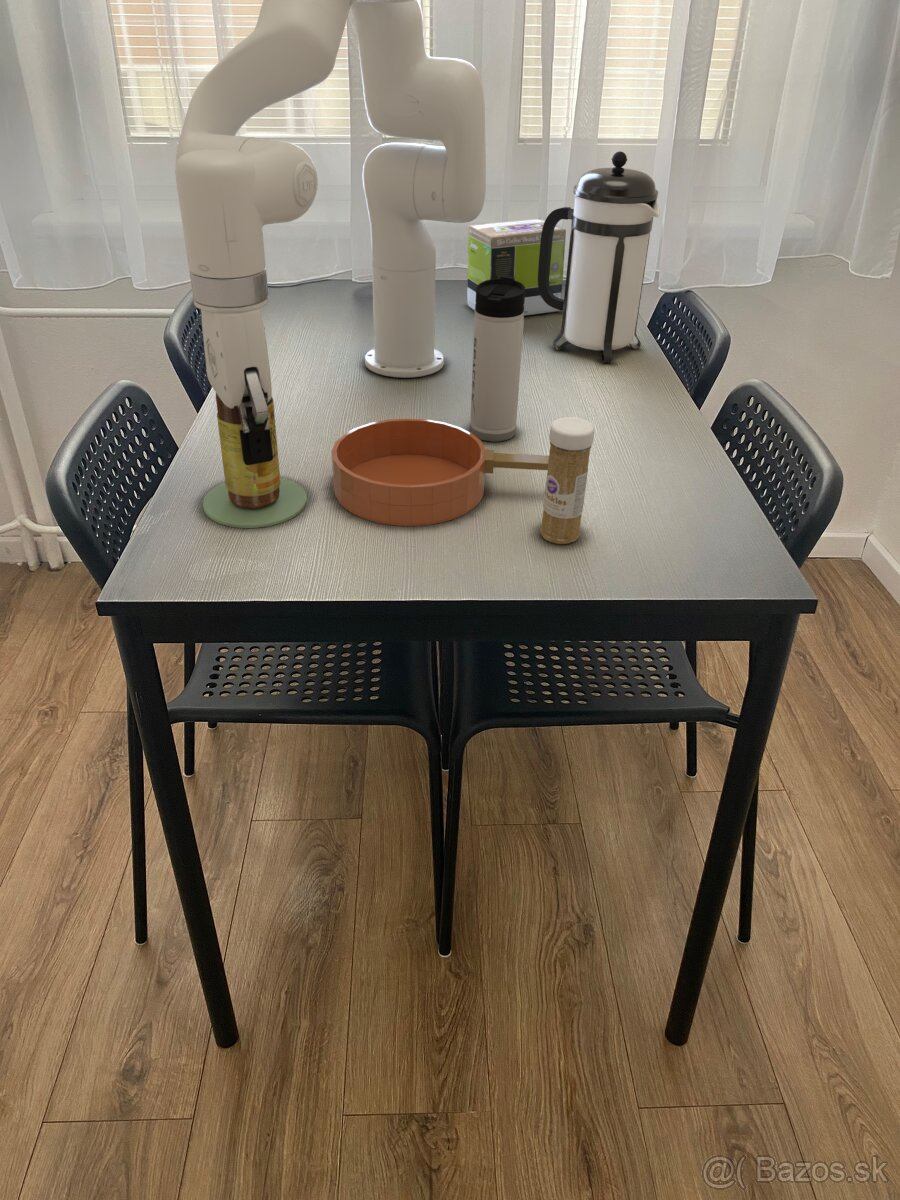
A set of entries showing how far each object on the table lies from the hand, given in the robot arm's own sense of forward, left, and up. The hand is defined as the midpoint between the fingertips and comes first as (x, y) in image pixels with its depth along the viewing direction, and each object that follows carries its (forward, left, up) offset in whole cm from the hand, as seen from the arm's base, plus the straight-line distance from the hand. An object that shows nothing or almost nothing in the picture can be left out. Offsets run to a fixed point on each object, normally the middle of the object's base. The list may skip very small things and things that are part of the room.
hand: (249, 447), depth 99 cm
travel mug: (-6, +35, -7) cm, 36 cm away
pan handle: (+11, +31, -4) cm, 33 cm away
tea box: (-52, +64, -7) cm, 83 cm away
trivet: (0, 0, -7) cm, 7 cm away
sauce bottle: (0, 0, -7) cm, 7 cm away
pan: (+4, +18, -7) cm, 20 cm away
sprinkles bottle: (+21, +29, -7) cm, 36 cm away
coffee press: (-29, +66, -7) cm, 72 cm away
